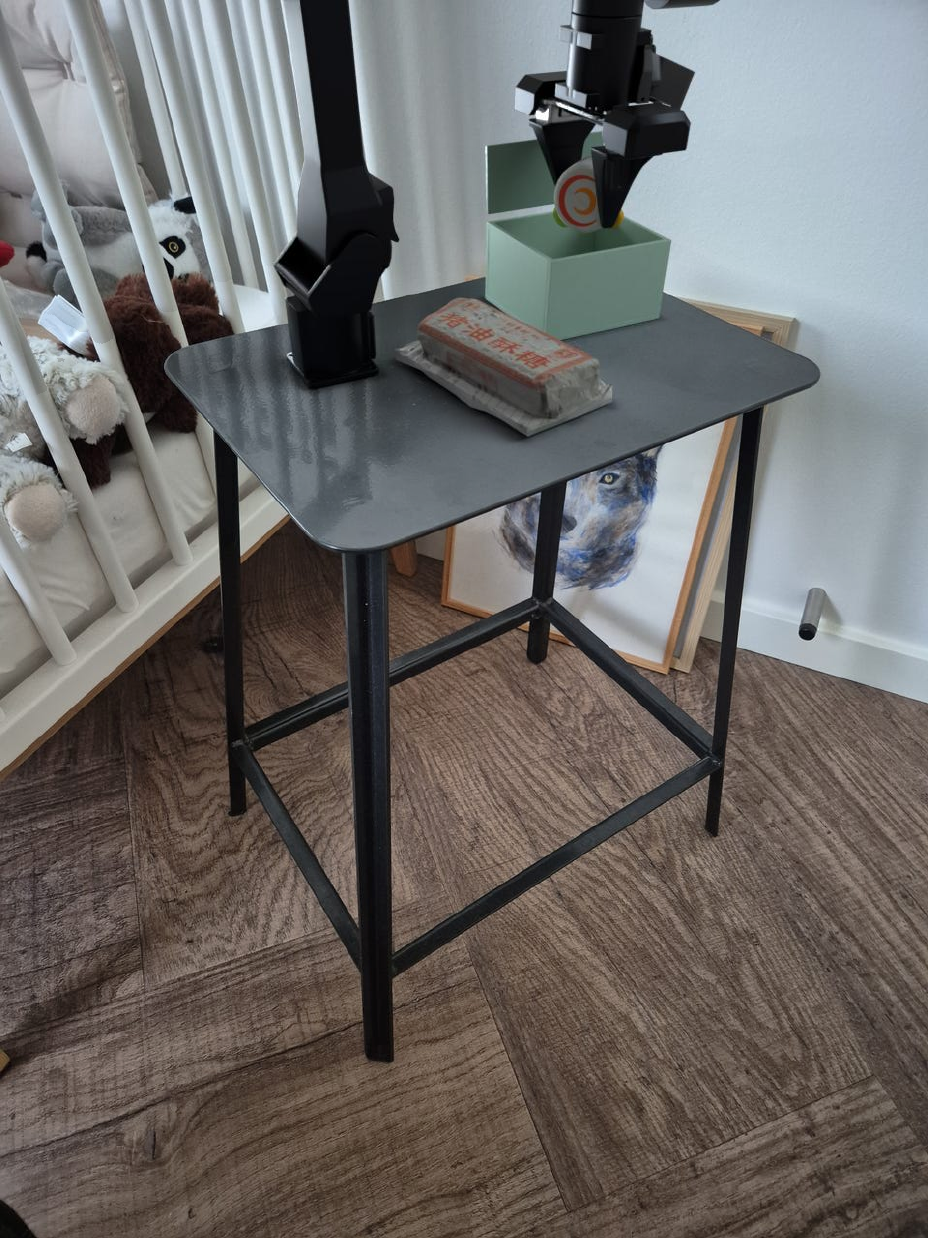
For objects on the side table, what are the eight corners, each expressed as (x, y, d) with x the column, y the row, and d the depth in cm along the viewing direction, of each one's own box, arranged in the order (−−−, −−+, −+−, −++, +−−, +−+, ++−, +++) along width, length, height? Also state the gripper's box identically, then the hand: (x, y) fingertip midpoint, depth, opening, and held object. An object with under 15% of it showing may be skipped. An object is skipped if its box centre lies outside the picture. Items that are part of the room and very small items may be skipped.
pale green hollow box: (545, 343, 82) (551, 261, 77) (485, 298, 90) (486, 221, 85) (659, 318, 87) (671, 239, 82) (592, 277, 95) (599, 203, 90)
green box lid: (487, 145, 81) (485, 145, 81) (488, 214, 85) (486, 213, 85) (604, 131, 86) (602, 130, 86) (601, 196, 89) (598, 195, 89)
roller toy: (563, 215, 85) (568, 149, 81) (627, 225, 83) (635, 157, 79) (547, 229, 82) (552, 160, 78) (613, 239, 80) (621, 169, 76)
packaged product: (623, 349, 70) (530, 385, 66) (616, 404, 73) (527, 442, 69) (479, 281, 81) (390, 308, 76) (478, 332, 84) (393, 361, 79)
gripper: (763, 23, 68) (721, 235, 78) (623, -7, 80) (603, 179, 90) (643, 32, 64) (616, 253, 74) (516, -1, 76) (508, 193, 87)
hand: (586, 216), depth 81 cm, fingers closed on roller toy, 6 cm apart
